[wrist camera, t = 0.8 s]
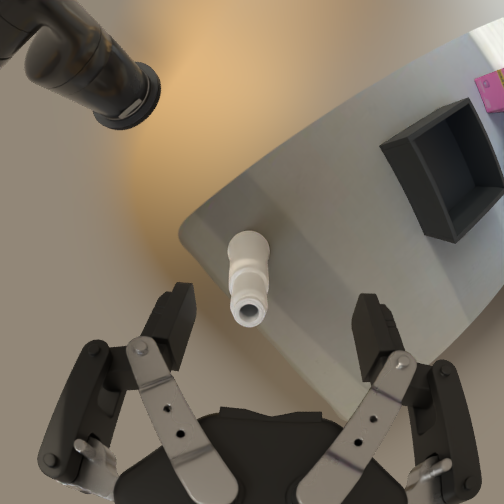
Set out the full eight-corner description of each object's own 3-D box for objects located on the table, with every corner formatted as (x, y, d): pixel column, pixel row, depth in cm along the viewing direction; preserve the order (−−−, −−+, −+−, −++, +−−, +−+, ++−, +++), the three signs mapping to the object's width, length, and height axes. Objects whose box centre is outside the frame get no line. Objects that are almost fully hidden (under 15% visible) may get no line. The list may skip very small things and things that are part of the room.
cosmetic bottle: (254, 222, 40) (262, 253, 18) (277, 257, 41) (308, 323, 19) (219, 245, 41) (188, 301, 19) (243, 279, 42) (238, 363, 20)
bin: (379, 146, 38) (406, 136, 29) (439, 108, 36) (468, 97, 28) (424, 235, 41) (455, 244, 32) (477, 188, 39) (507, 189, 31)
